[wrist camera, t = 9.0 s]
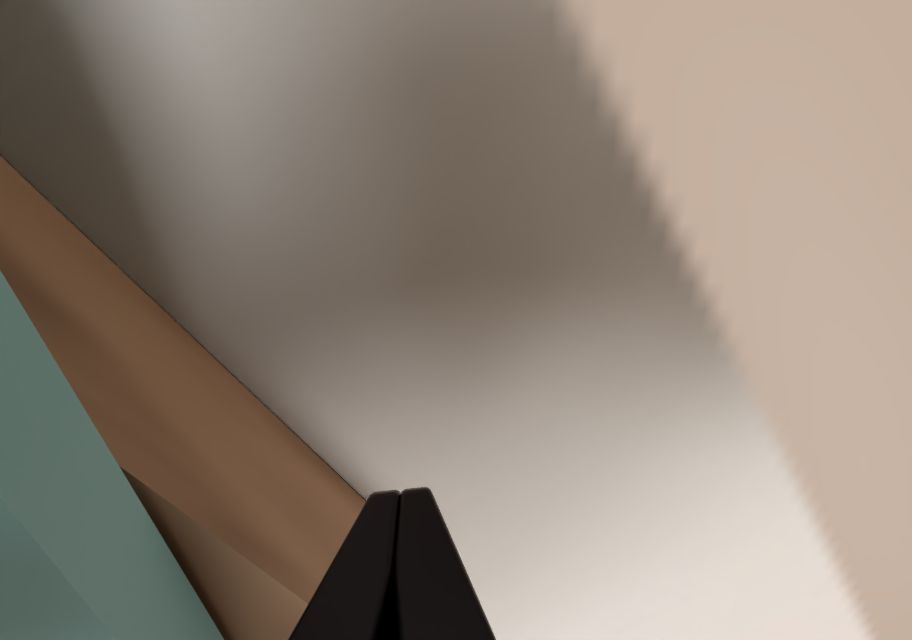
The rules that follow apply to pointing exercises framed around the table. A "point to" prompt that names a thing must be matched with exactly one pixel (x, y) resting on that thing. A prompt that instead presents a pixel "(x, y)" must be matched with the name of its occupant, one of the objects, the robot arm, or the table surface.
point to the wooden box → (179, 428)
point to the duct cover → (74, 516)
